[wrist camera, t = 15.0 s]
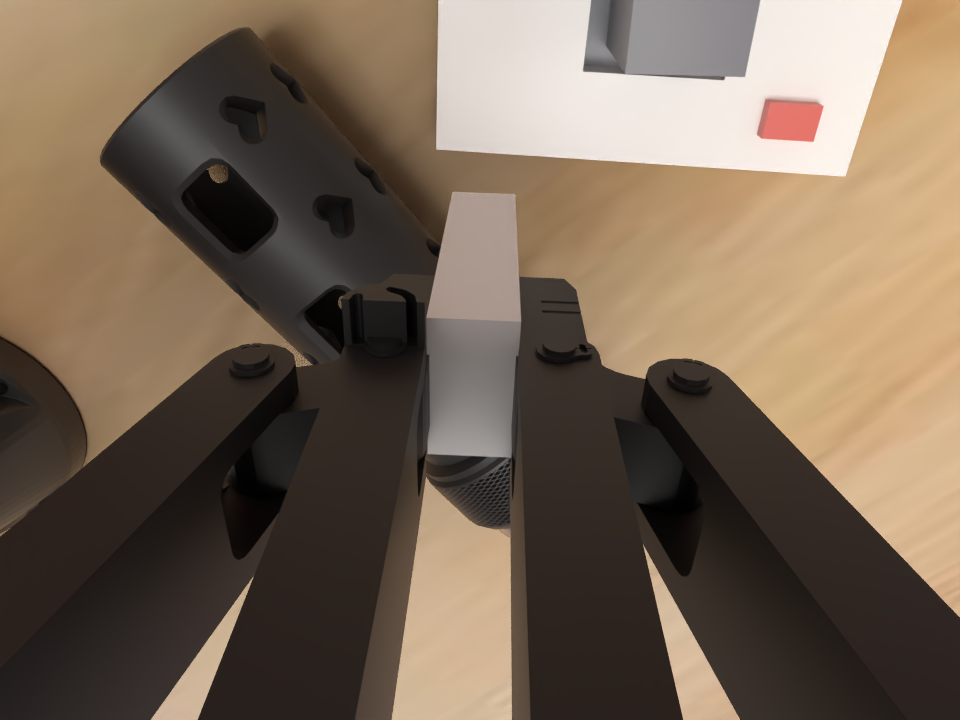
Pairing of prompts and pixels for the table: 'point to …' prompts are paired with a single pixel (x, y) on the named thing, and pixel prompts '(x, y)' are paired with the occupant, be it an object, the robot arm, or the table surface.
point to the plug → (682, 36)
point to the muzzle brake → (283, 214)
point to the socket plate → (658, 87)
